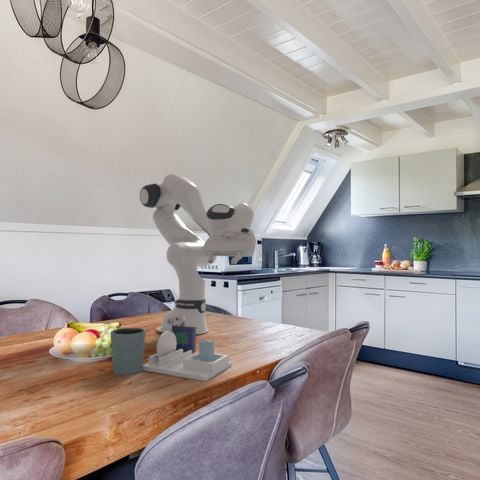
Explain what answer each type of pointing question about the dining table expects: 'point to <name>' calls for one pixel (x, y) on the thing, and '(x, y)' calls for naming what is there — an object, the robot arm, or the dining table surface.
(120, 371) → the green cup
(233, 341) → the dining table surface
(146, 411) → the dining table surface
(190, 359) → the rack
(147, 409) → the dining table surface
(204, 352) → the grey upright block
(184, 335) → the blue printed box
